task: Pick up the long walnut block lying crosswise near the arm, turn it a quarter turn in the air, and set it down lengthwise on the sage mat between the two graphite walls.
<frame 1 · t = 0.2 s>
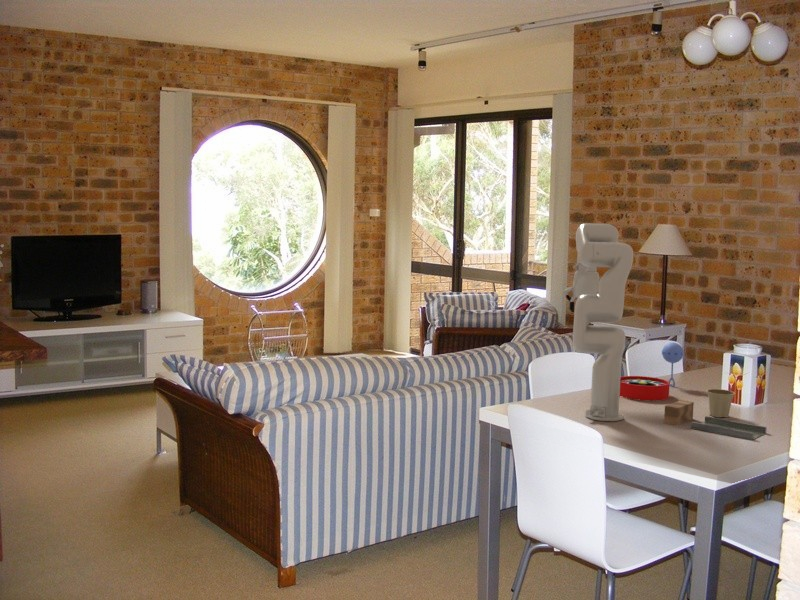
hand: (584, 312, 343), 31 cm above the table, tool pointing down, fingers open, 9 cm apart
baby rattle: (670, 386, 360), on the table
toy clock: (641, 396, 340), on the table
flower pot: (719, 416, 308), on the table
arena: (728, 430, 287), on the table
walnut block: (678, 421, 300), on the table
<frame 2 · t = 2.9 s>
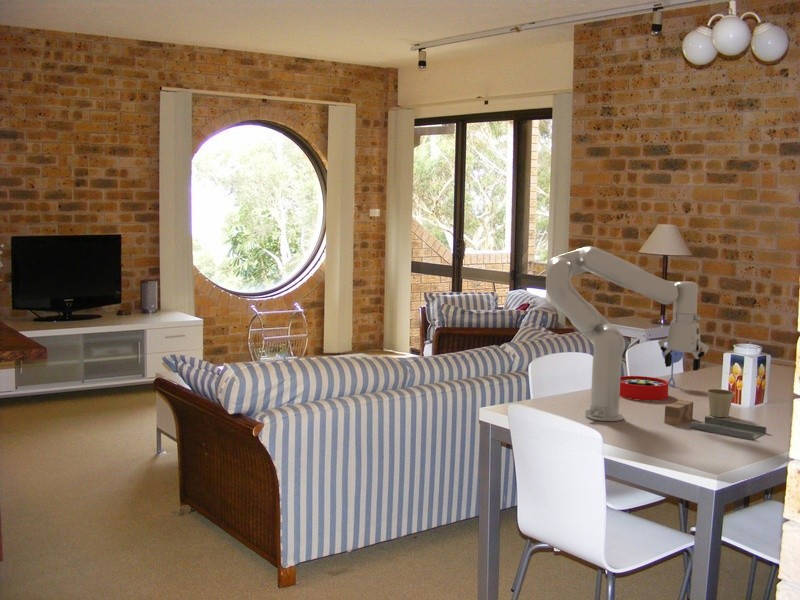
hand: (681, 368, 298), 18 cm above the table, tool pointing down, fingers open, 9 cm apart
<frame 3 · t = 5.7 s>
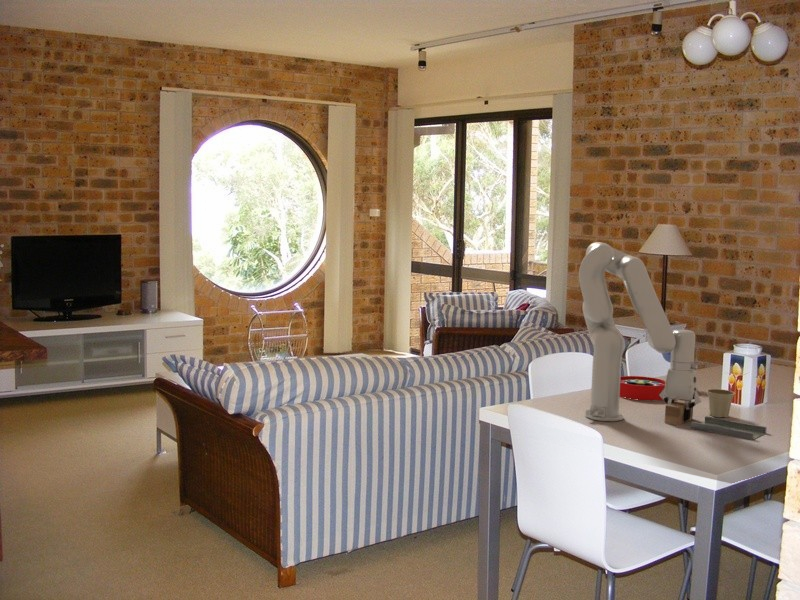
hand: (678, 418, 299), 1 cm above the table, tool pointing down, fingers closed on walnut block, 4 cm apart
walnut block: (678, 420, 299), on the table, touching gripper
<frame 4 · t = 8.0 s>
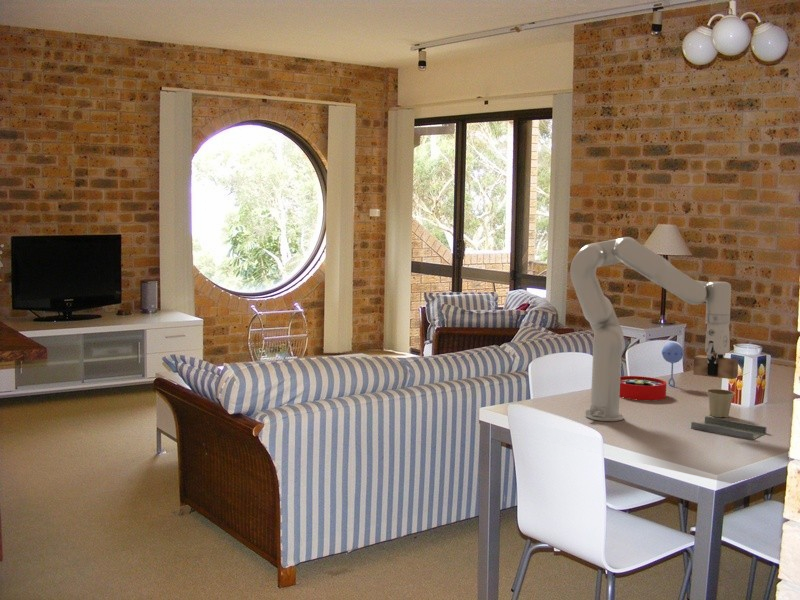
hand: (715, 373, 290), 18 cm above the table, tool pointing down, fingers closed on walnut block, 4 cm apart
walnut block: (715, 375, 290), point 17 cm above the table, touching gripper
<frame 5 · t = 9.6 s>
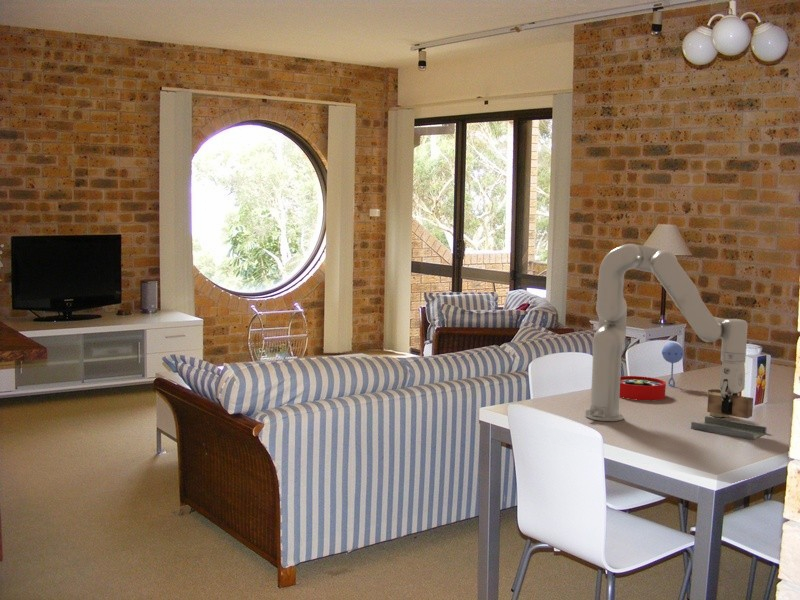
hand: (729, 411, 287), 6 cm above the table, tool pointing down, fingers closed on walnut block, 4 cm apart
walnut block: (729, 414, 287), point 6 cm above the table, touching gripper
when the fingers open (2 cm above the table, at t = 10.8 s): walnut block drops 1 cm, resting on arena.
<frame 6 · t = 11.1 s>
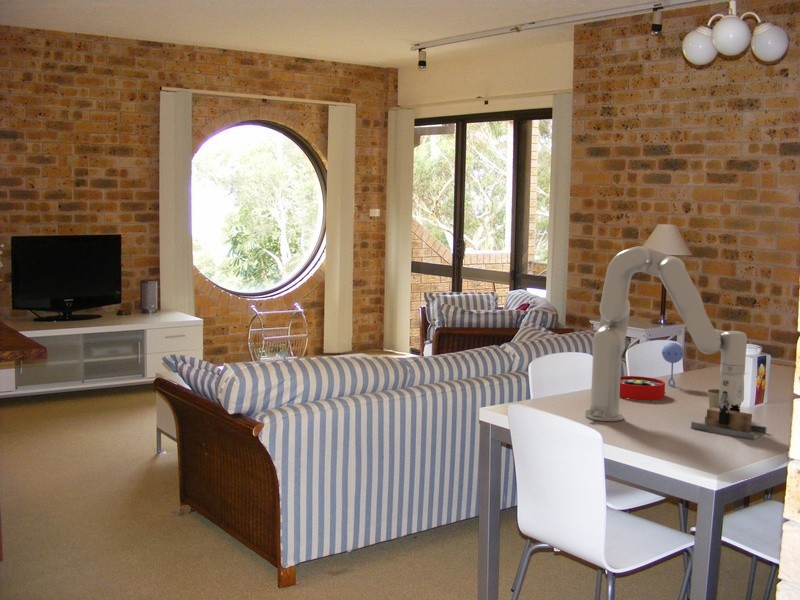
hand: (728, 421, 287), 3 cm above the table, tool pointing down, fingers open, 8 cm apart
walnut block: (728, 429, 287), resting on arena
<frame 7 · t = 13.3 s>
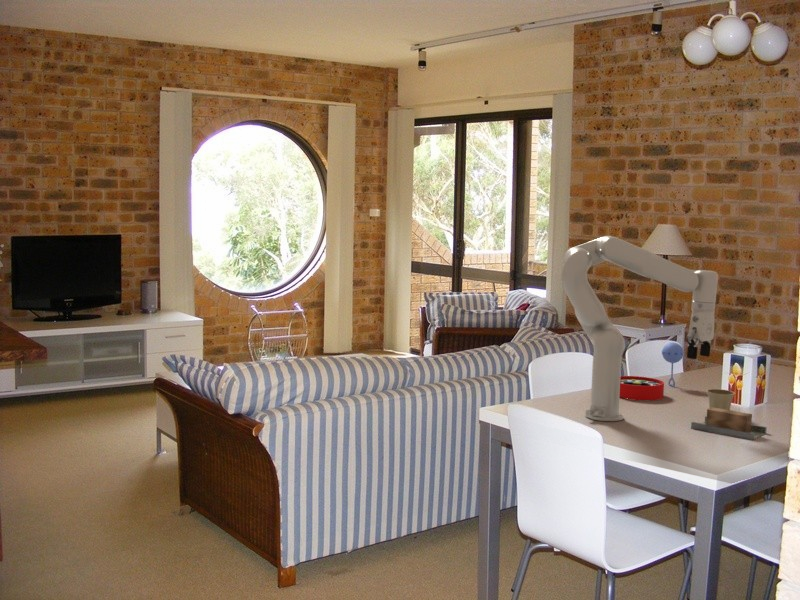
hand: (698, 357, 297), 22 cm above the table, tool pointing down, fingers open, 9 cm apart
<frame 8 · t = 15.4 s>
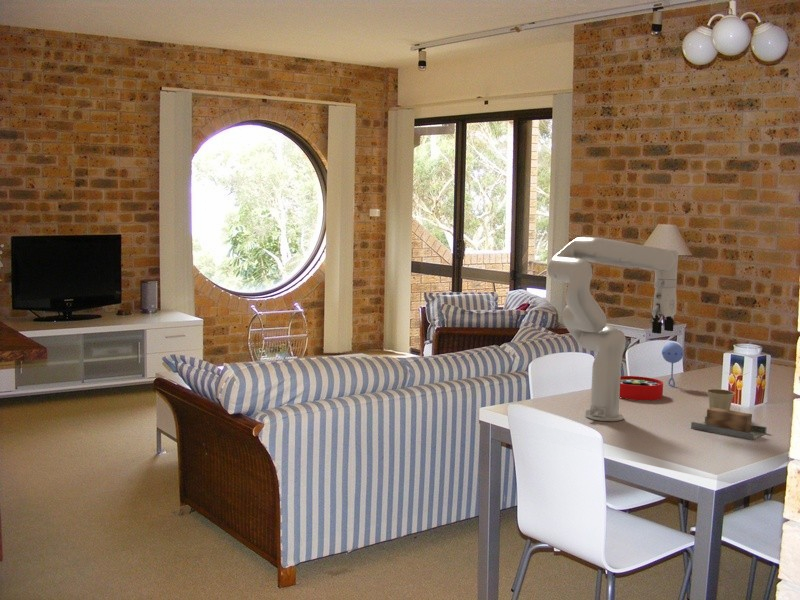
hand: (662, 331, 312), 28 cm above the table, tool pointing down, fingers open, 9 cm apart
at the end: walnut block inside the target area on the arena (0.1 cm from its centre), point 0.3 cm above the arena's base; walnut block tilted 0°; the gripper is holding nothing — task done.
